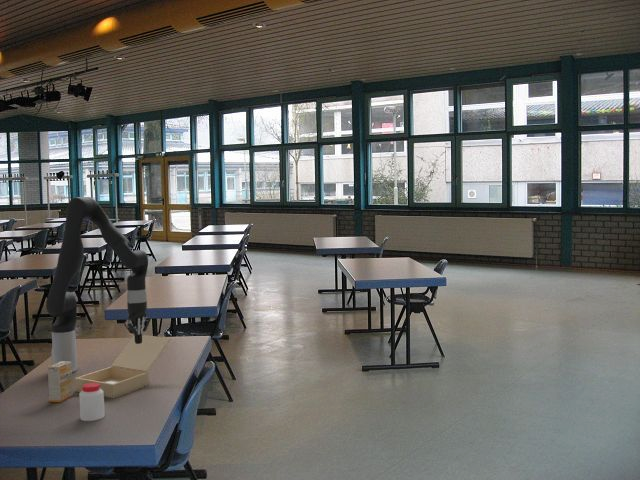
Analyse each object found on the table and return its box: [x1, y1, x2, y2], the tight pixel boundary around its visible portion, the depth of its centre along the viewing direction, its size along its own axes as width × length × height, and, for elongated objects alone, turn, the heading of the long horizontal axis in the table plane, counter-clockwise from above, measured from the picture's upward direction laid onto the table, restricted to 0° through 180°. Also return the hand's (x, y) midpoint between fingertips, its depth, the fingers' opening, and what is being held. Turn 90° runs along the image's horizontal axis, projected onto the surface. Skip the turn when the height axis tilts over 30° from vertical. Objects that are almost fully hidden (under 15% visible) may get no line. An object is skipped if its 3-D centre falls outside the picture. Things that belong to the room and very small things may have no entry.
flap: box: [110, 334, 172, 373], centre depth 270 cm, size 19×17×1 cm
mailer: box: [74, 366, 150, 399], centre depth 257 cm, size 20×18×5 cm
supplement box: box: [47, 361, 74, 403], centre depth 244 cm, size 8×5×13 cm, turn 168°
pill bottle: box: [78, 383, 106, 422], centre depth 224 cm, size 8×8×11 cm
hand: (138, 343), depth 269 cm, fingers closed
